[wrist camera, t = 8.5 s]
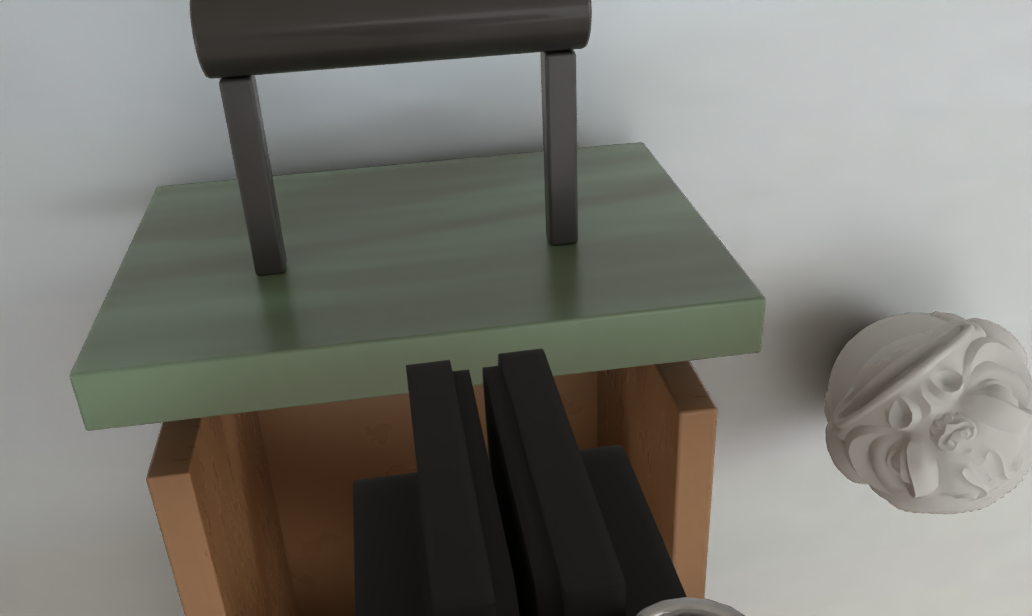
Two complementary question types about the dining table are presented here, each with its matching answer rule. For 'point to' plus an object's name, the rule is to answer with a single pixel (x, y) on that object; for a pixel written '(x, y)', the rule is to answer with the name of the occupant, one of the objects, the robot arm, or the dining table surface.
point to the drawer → (399, 306)
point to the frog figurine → (932, 412)
